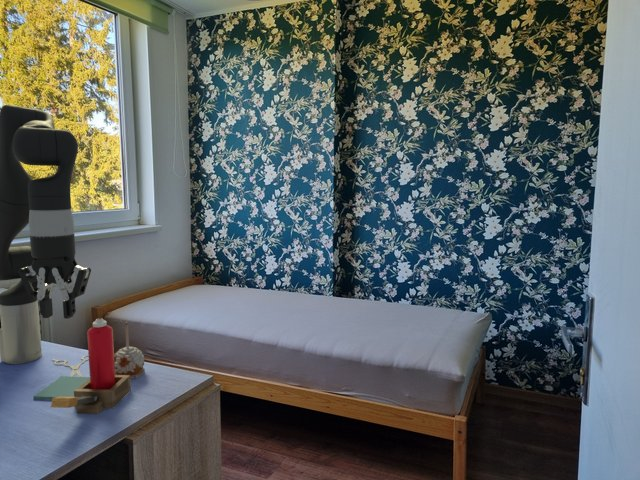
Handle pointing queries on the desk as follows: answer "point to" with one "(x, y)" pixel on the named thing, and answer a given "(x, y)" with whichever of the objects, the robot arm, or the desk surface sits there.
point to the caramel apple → (129, 359)
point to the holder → (103, 395)
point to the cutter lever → (72, 401)
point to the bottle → (101, 355)
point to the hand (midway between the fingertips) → (58, 316)
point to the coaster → (61, 388)
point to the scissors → (74, 368)
